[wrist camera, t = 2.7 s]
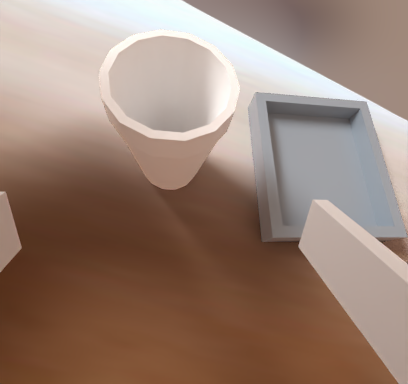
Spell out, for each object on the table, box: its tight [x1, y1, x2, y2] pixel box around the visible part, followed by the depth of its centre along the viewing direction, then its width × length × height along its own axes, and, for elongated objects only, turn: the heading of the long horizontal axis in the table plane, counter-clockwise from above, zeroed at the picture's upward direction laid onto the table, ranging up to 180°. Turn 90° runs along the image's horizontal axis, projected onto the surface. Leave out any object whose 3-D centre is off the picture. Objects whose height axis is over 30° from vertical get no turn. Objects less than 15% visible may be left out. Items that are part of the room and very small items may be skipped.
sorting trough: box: [248, 92, 408, 242], centre depth 30 cm, size 15×18×3 cm
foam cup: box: [99, 29, 240, 190], centre depth 22 cm, size 10×9×13 cm
